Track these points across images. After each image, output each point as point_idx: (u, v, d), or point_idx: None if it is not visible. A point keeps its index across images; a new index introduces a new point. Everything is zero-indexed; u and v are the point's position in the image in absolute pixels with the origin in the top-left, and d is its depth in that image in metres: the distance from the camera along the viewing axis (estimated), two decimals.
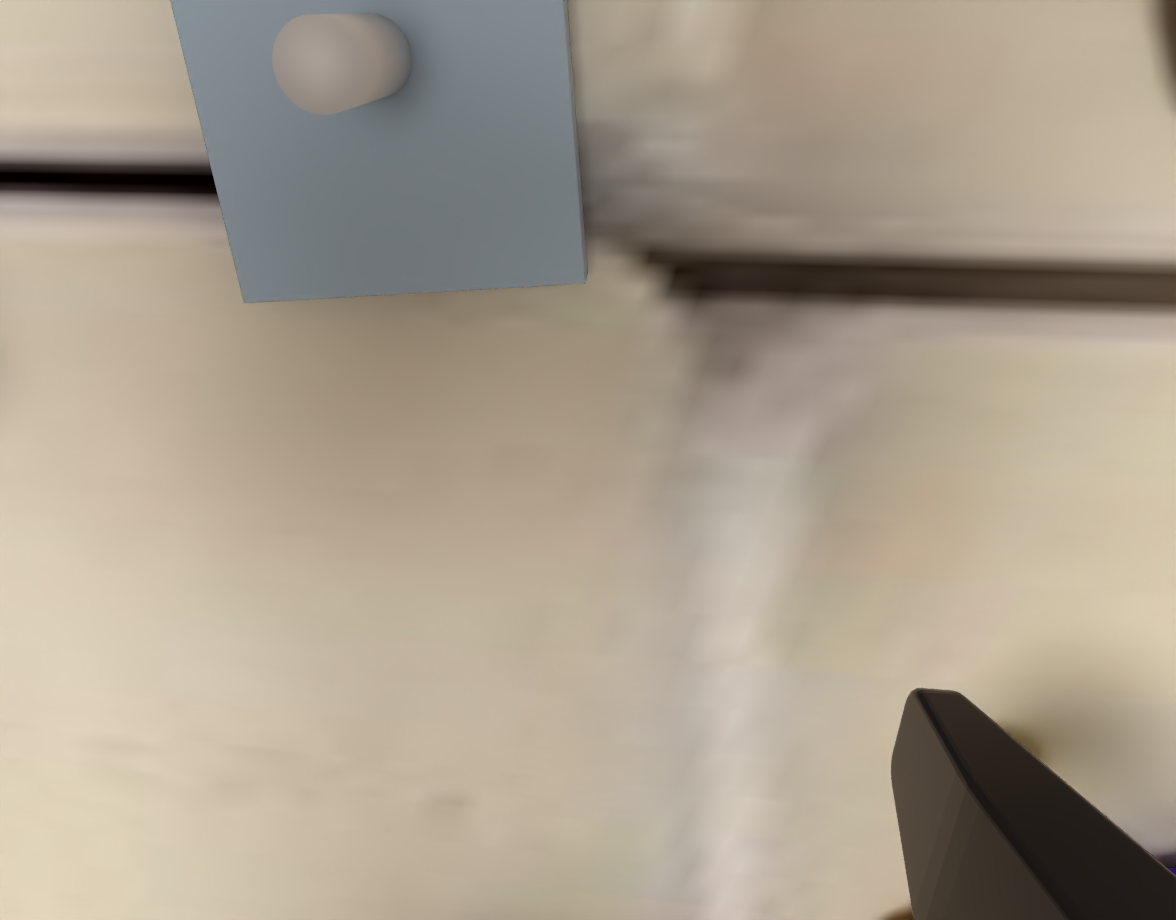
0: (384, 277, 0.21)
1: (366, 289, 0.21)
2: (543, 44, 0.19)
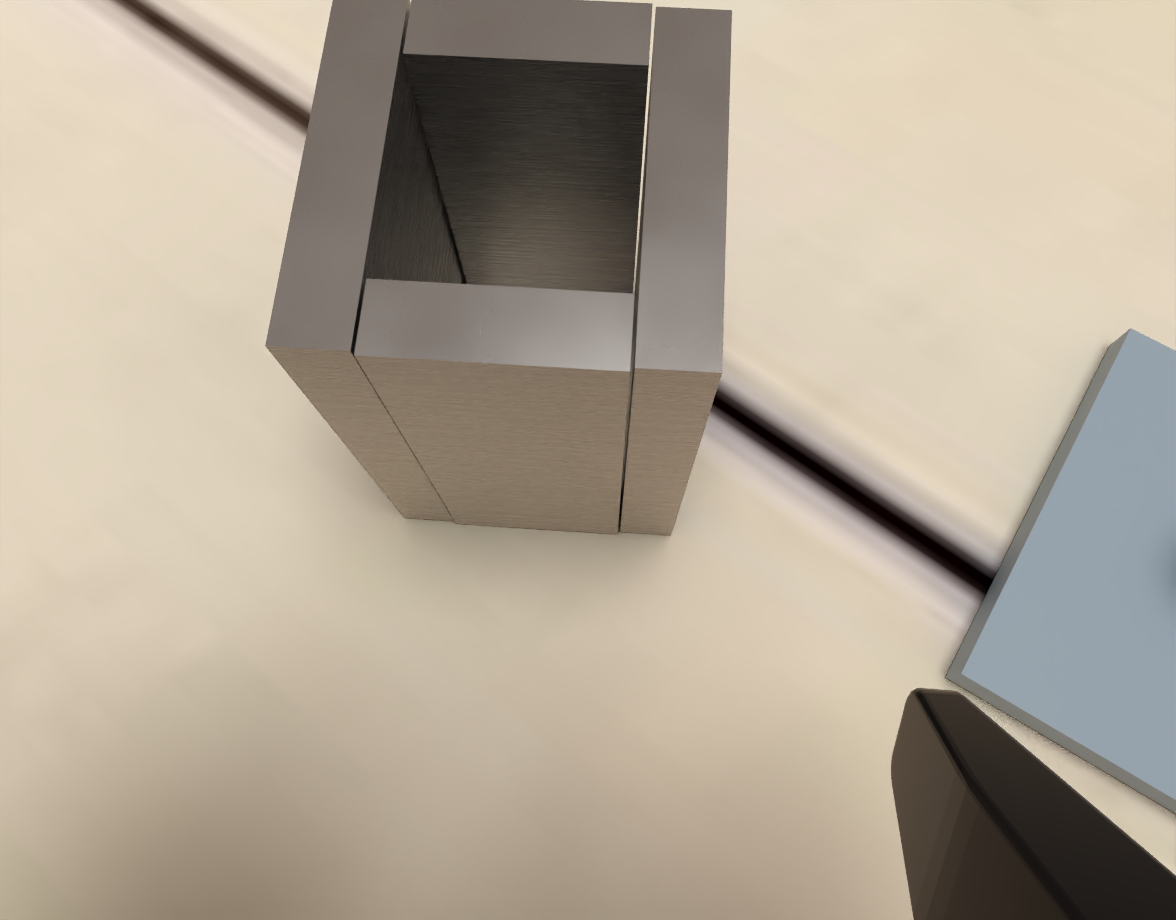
0: (1113, 742, 0.20)
1: (1087, 741, 0.20)
2: None
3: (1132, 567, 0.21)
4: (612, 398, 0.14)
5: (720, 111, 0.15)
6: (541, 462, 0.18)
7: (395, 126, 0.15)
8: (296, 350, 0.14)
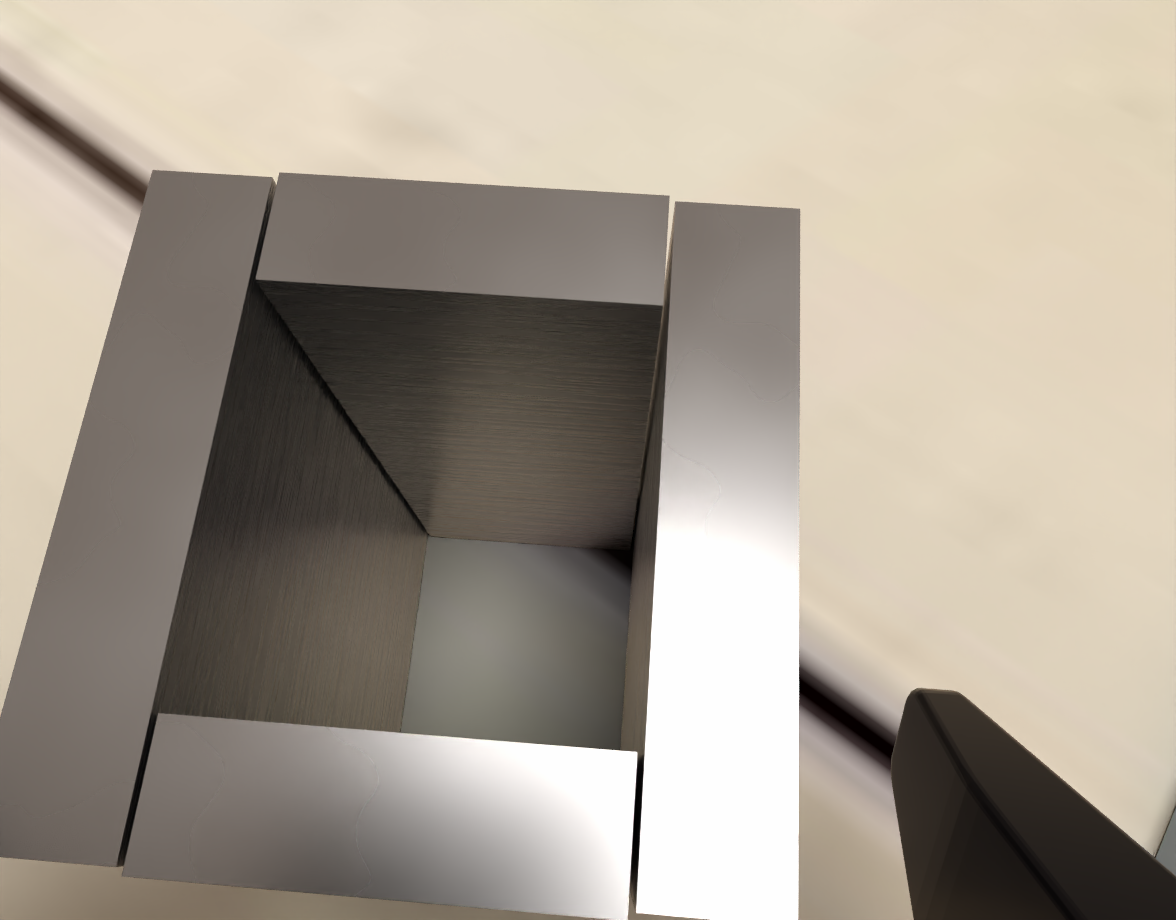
0: None
1: None
2: None
3: None
4: None
5: (784, 392, 0.09)
6: None
7: (242, 398, 0.09)
8: None
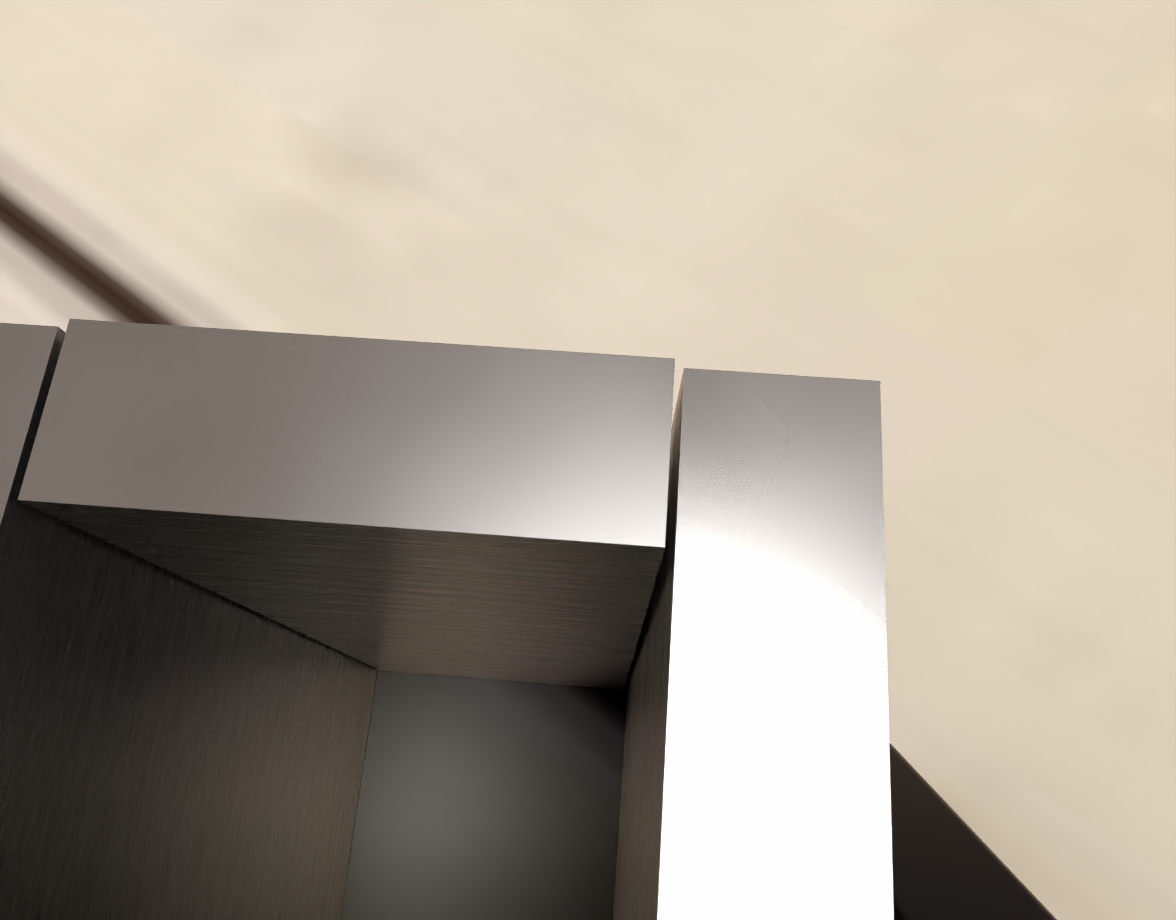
0: None
1: None
2: None
3: None
4: None
5: (864, 703, 0.05)
6: None
7: None
8: None
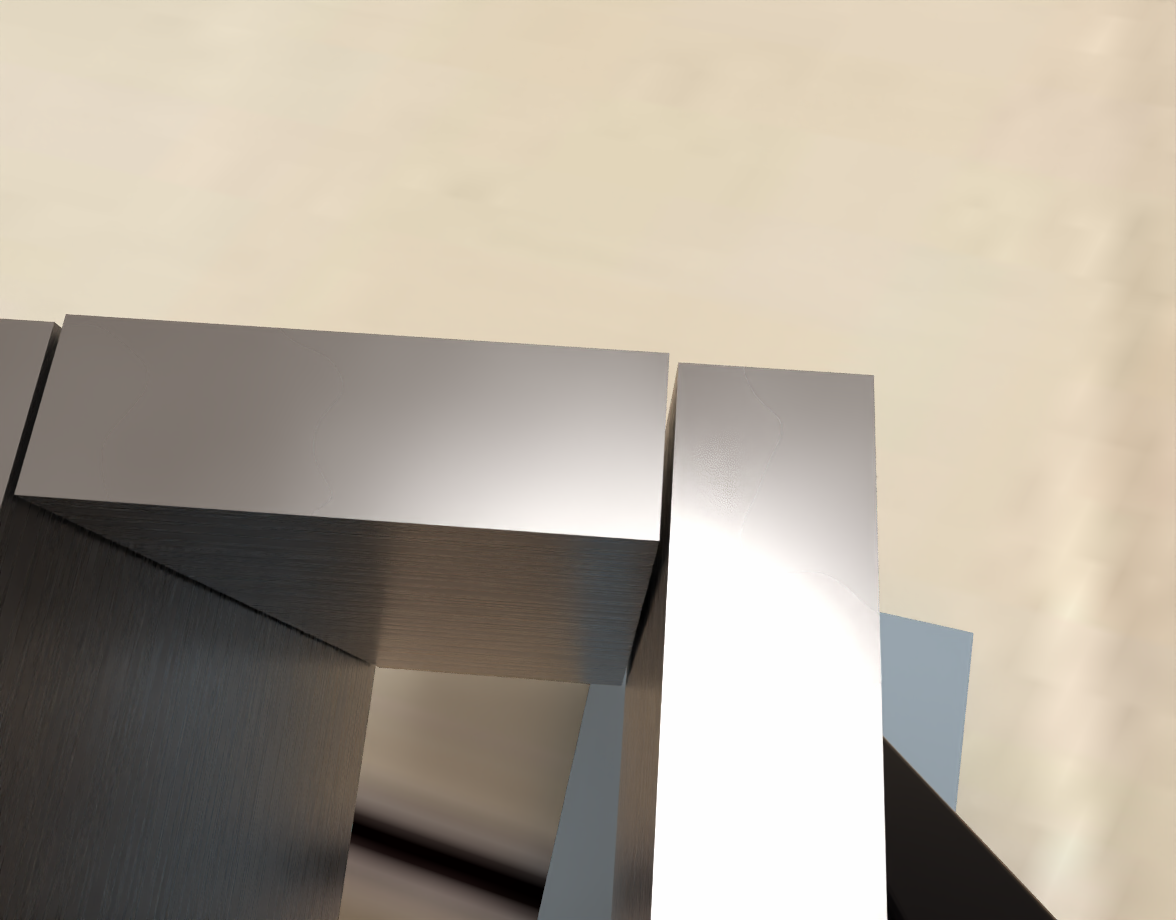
0: None
1: None
2: None
3: None
4: None
5: (857, 695, 0.05)
6: None
7: None
8: None
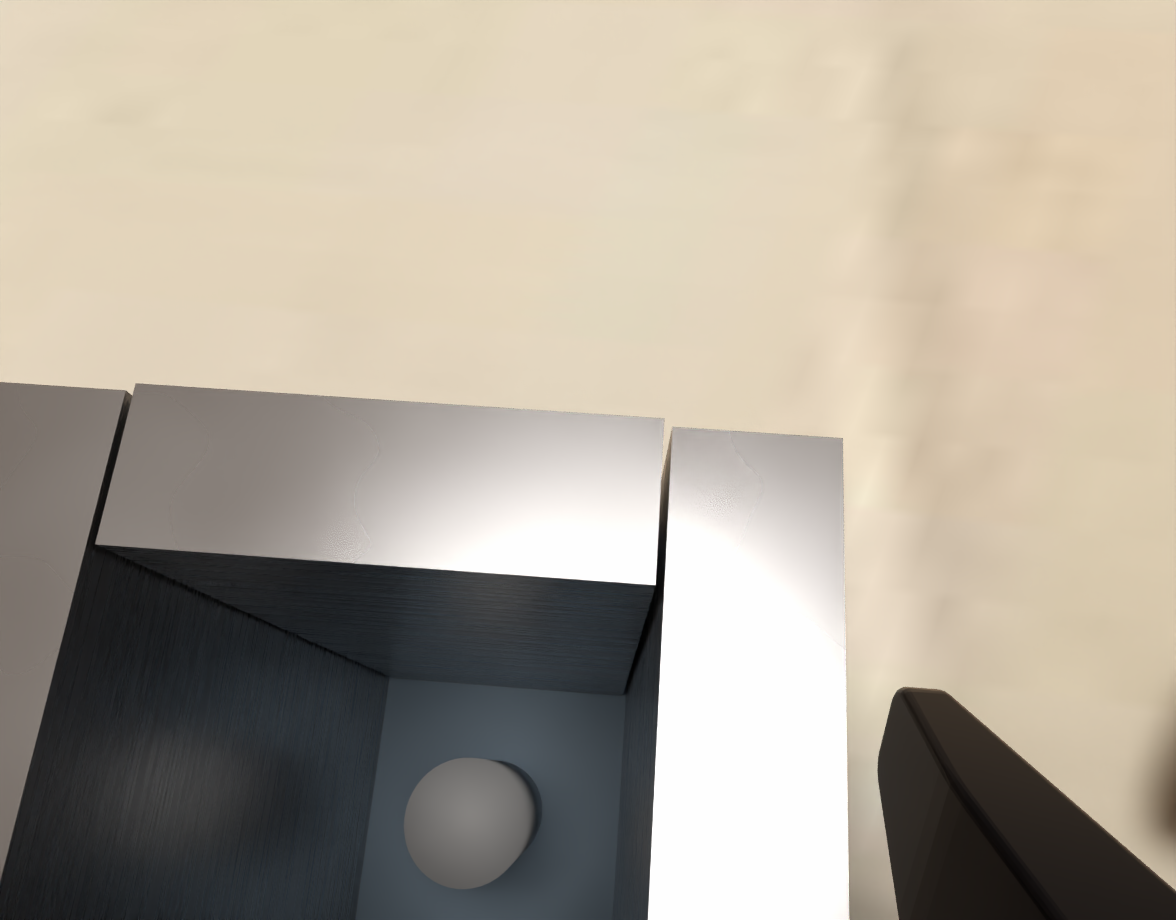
0: None
1: None
2: None
3: (388, 849, 0.15)
4: None
5: (826, 720, 0.06)
6: None
7: (79, 705, 0.07)
8: None
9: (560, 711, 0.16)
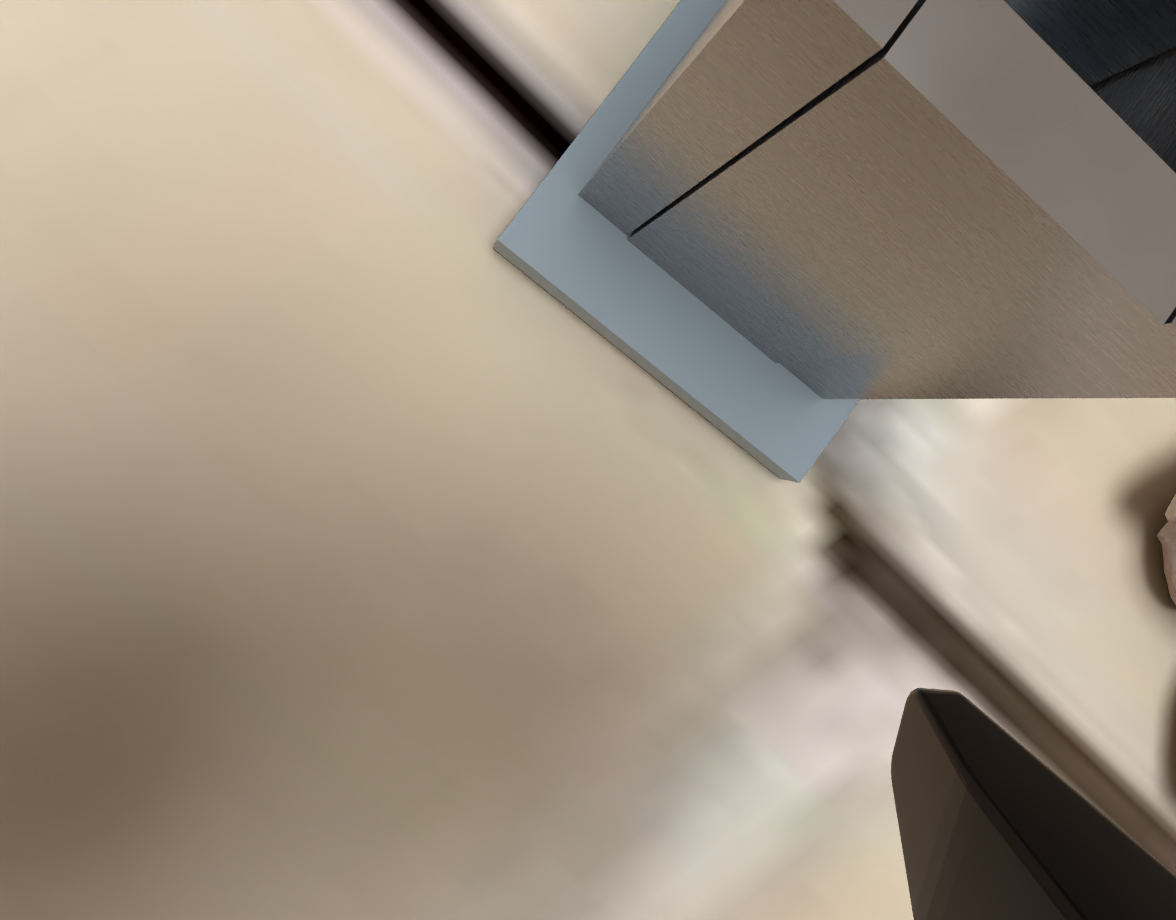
0: (645, 333, 0.19)
1: (619, 328, 0.19)
2: None
3: None
4: (1073, 318, 0.10)
5: None
6: (843, 283, 0.14)
7: None
8: None
9: None
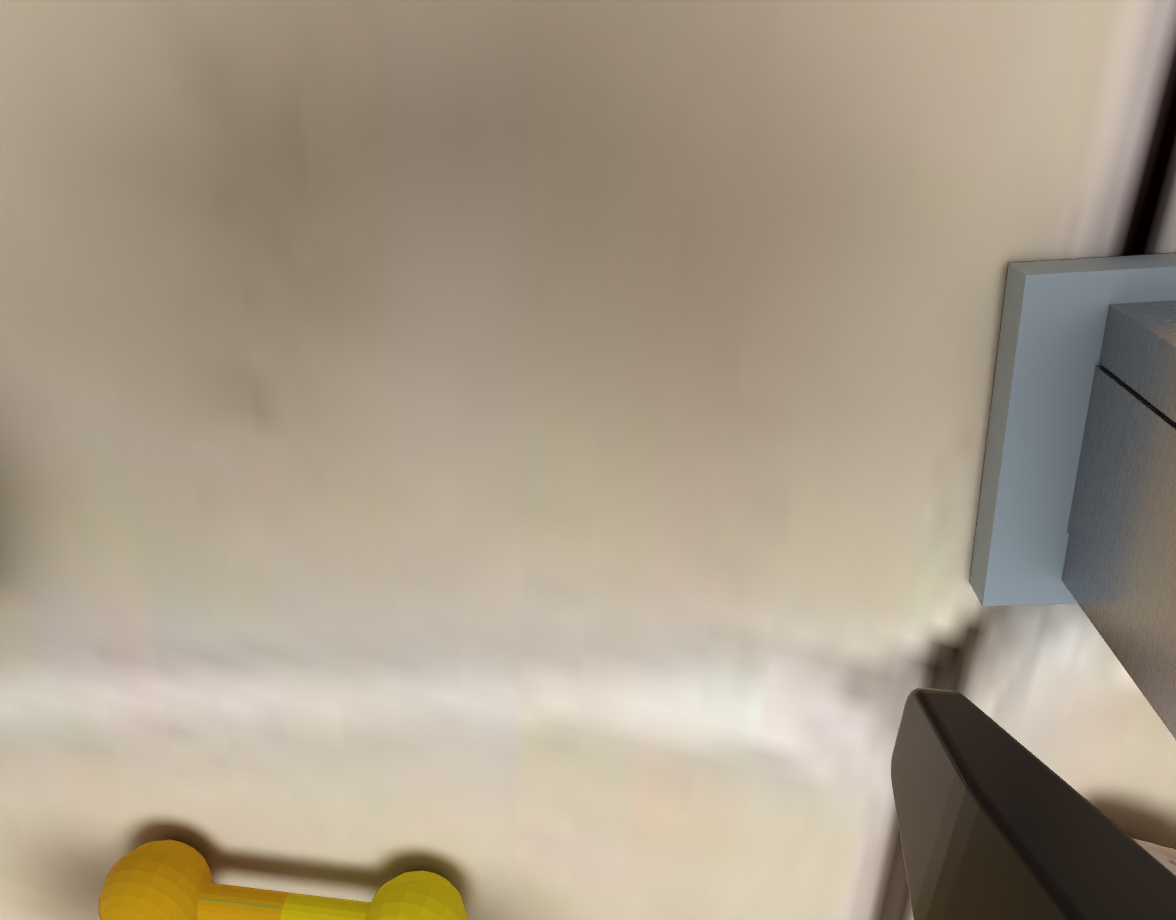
0: (1024, 430, 0.20)
1: (1014, 410, 0.20)
2: None
3: None
4: None
5: None
6: None
7: None
8: None
9: None
